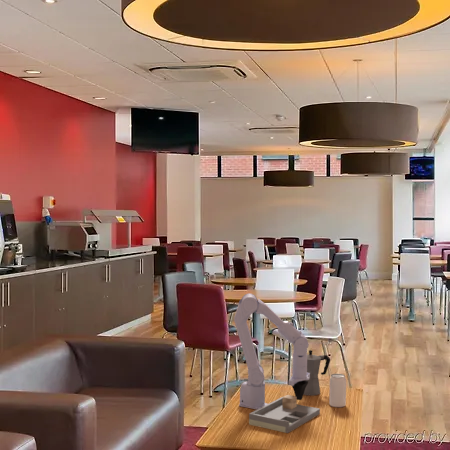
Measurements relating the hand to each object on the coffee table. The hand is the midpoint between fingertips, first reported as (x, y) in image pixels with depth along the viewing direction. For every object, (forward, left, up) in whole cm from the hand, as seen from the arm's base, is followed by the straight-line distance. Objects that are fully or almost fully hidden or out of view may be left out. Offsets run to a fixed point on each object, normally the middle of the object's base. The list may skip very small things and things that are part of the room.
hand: (299, 399), depth 291 cm
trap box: (+2, -16, -3) cm, 16 cm away
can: (+11, +11, -3) cm, 16 cm away
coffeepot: (-5, +21, -3) cm, 22 cm away
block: (0, -8, -1) cm, 8 cm away
